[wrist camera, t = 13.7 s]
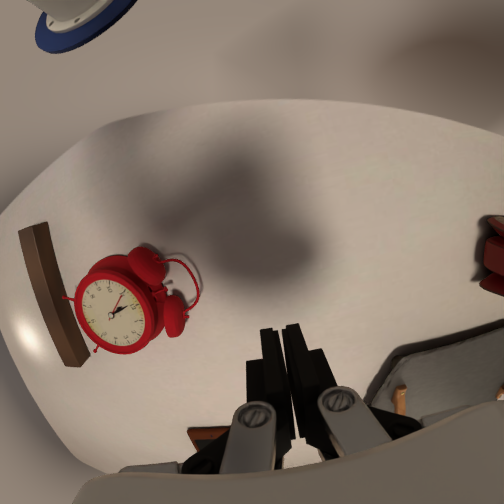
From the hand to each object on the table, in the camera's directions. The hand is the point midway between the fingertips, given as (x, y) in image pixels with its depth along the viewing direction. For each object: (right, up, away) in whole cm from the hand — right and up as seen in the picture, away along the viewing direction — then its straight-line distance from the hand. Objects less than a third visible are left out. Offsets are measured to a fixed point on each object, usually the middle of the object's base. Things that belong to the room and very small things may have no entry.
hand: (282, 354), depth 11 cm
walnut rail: (-26, -1, +16) cm, 30 cm away
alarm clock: (-14, 0, +16) cm, 21 cm away
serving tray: (+33, -18, +21) cm, 43 cm away
